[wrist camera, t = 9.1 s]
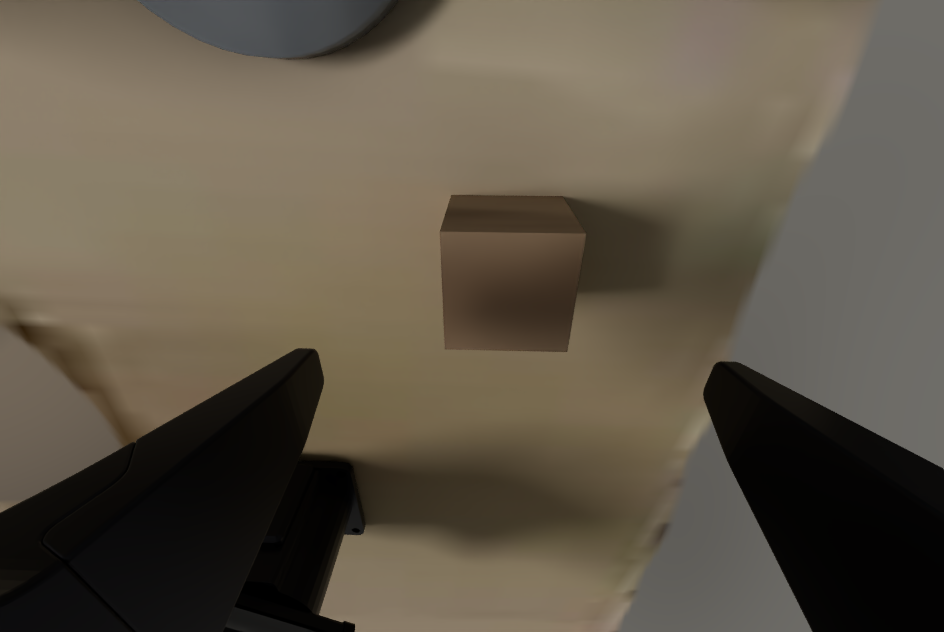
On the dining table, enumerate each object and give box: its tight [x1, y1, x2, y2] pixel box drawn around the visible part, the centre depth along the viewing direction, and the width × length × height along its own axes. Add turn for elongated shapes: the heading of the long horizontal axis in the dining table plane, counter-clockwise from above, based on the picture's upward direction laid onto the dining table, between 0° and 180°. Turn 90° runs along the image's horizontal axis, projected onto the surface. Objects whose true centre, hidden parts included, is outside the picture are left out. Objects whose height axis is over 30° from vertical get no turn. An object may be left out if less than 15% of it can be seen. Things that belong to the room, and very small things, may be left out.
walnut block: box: [440, 195, 586, 352], centre depth 13 cm, size 4×4×4 cm
